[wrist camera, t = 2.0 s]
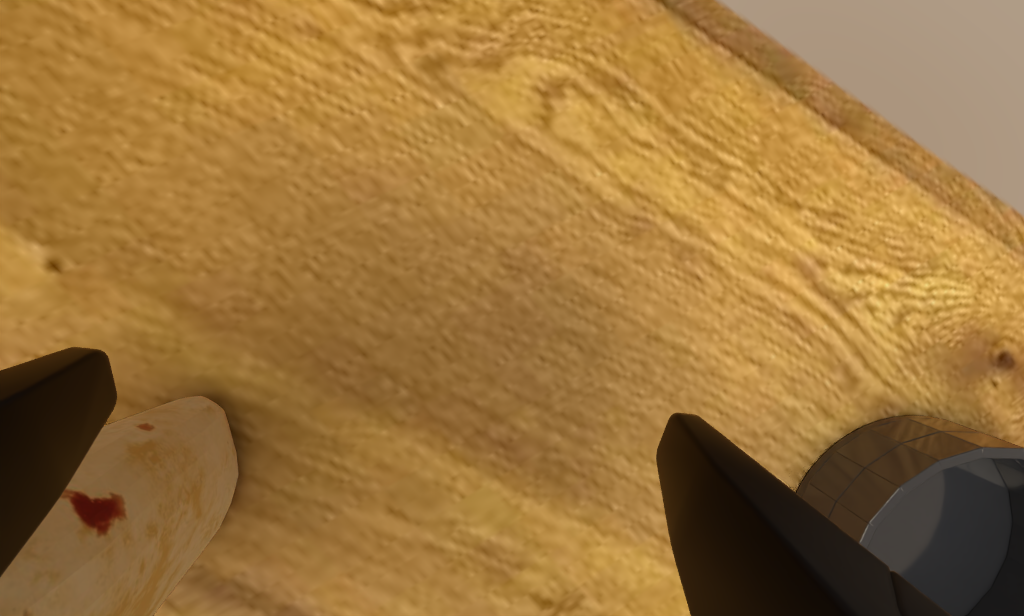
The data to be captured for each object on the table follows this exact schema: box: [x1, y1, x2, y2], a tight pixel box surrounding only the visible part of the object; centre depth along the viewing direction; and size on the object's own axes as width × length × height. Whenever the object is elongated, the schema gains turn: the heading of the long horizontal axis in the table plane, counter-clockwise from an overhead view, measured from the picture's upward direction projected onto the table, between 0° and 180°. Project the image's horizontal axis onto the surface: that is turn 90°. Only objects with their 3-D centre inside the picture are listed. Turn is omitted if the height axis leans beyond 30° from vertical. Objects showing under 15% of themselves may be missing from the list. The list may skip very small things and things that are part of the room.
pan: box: [796, 415, 1024, 616], centre depth 26 cm, size 13×13×4 cm
